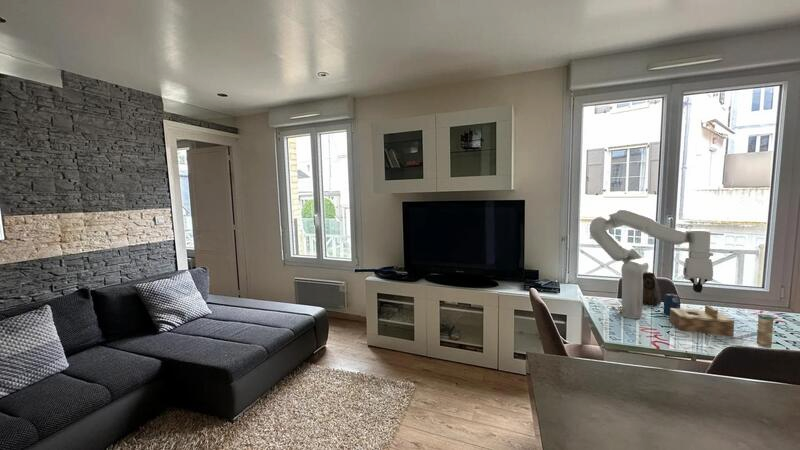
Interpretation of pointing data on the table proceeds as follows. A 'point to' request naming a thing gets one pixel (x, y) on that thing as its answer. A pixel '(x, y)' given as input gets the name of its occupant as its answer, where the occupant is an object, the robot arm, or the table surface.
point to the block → (765, 330)
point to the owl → (651, 289)
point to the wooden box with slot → (702, 325)
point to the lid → (702, 314)
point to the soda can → (671, 302)
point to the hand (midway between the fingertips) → (697, 291)
